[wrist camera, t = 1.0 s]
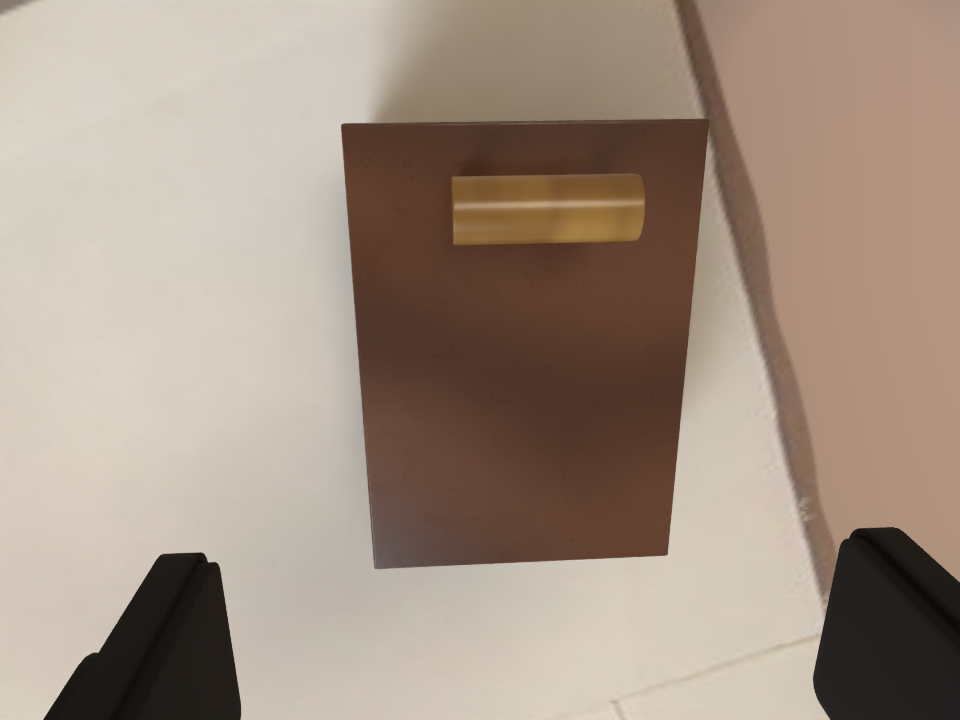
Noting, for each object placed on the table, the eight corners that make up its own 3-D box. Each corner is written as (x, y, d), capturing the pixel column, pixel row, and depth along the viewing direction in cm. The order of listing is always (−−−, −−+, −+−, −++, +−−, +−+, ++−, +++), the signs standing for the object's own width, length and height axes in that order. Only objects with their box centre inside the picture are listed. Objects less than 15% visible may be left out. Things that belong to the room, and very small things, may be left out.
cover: (343, 123, 22) (314, 126, 17) (702, 118, 23) (781, 120, 17) (375, 559, 27) (361, 662, 22) (662, 545, 28) (713, 643, 23)
